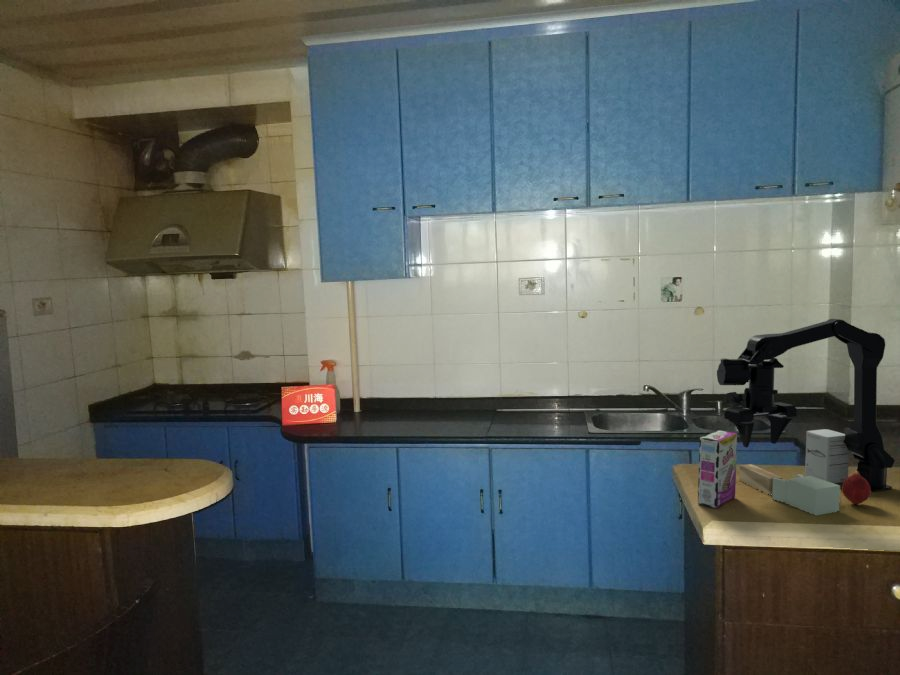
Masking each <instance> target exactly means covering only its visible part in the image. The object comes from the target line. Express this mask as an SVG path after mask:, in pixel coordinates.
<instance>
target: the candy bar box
mask: <svg viewBox="0 0 900 675" xmlns="http://www.w3.org/2000/svg"><path fill="white" fill-rule="evenodd" d="M698 451H699V452H698V484H697V486H698V487H697V504H698V505H701V506H704V507H709V508H710V509H711V508H712V509H718V508H720V507H721V506H723V505H724V504H726V503H727V502H729V501H731V500H733V499H735V498H736V485H737V484H736V483H737V477H736V476H737V475H736V474H737V458H738V457H737V454H738V452H737V451H738V433H737V432H732V431H727V430H726V431H725V430H719V429H718V430H715V431H713V432H711V433H709V434H707V435H703V436H701V437H699V450H698Z"/></svg>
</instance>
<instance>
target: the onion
mask: <svg viewBox="0 0 900 675" xmlns="http://www.w3.org/2000/svg"><path fill="white" fill-rule="evenodd" d="M841 492H842V494H843V496H844V497H845V498H846V499H847V501H848V502H850V503H851V504H853V505H855V504H856V505H859V504H861V503H864V502H866V501H867V500H868V499H869V498H870V497H871V494H872V491H871V488H870V485H869V483H868V482H867V480H866V479H865V478H863V477H862V476H860V474H859V472H858V471H857V470H855V471H854V473H853V474H852V475H850V476H848V478H846V479H845V481H844V482H842V486H841Z"/></svg>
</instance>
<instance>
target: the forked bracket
mask: <svg viewBox="0 0 900 675" xmlns="http://www.w3.org/2000/svg"><path fill="white" fill-rule="evenodd" d="M840 493H841V485H839V484H838V483H831V482H828V481H825V480H822V479H819V478H816V477H813V476H805V475H803V474H799V473H798V474H796V477H793V478H788V479H783V478H782V479H779V478H773V491H772V495H771V496H772V497H771V500H772V499H774V500H773V501H775V500H777V501H776V502H779V501H781V502H780V503H783V502H785V503H784V504H787V505H788V504H789V506H791V507H793V506H794V507H793V508H796V507H797V508H796V509H798V508H799V509H798V510H801V511H803V510H804V512H806V513H808V512H809V513H808V514H811V515H813V514H814V515H813V516H821V515H826V514H832V512H833V513H837V511H839V512H840V498H841V496H840V495H841V494H840Z"/></svg>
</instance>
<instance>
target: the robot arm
mask: <svg viewBox="0 0 900 675" xmlns="http://www.w3.org/2000/svg"><path fill="white" fill-rule="evenodd" d="M833 337H834V338H835V339H837V340H838V341H839V342H841V343H843V344H845V345H846V346H847V353H848V357H849V358H850V361H851V363H852V364H853V369H854V370H853V371H854V374H853V375H854V378H853V379H854V380H853V383H854V384H853V385H854V387H853V423H852V425H851V426H850V427H844V430H843V432H844V434H845V440H844V443H846V446H847V449H848V450H849V453H851V454H852V457H853V459H855V460H857V461H858V462H857V469H856V471H858V472H859V474H860V476H862V477H863V478H865V479H866V480H867V482H868V483H869V485H870V488H871V492H879V491H886V490H892V489H893V486H892V485H888V484H887V480H888V479H887V477H888V469H889V468H890V469H891V468H893V466H894V464H895V462H896V460H895V458H894V457H893V456H891V455H890V454H889V453H888V451H886V450H885V445H884V440H883V436H882V433H881V431H880V429H879V427H878V425H877V400H878V398H877V391H878V390H877V388H878V387H877V386H878V385H877V384H878V382H877V381H878V379H877V378H878V376H877V375H878V367H879V365H880V364H881V361H882V360H883V358H884V355H885V349H886V339H885V338H884V337H883V336H882V335H881V334H879V333H877V332H870V331H867V330H865V329H862V328H859V327H858V326H857V327H856V326H855V325H853V324H852V325H851V323H849V322H846V321H845V320H844V319H840V318H839V319H838V318H829V319H827V320H826V321H822V322H818V323H814V324H811V325H808V326H804V327H799V328H796V329H791V330H790V331H785V332H781V333H767V334H764V333H763V334H756V335H753V336H750V338H749V339H748V341H747V345H746V347H745V349H744V350H743V351H742V352H741V353H740V355H739V356H738V357H737V359H735V358H731V359H729V358H720V363H719V364H718V367H717V370H716V377H717V378H716V379H717V382H718V385H720V386H745V385H746V383H748V387H744V388H745V389H744V393H742V394H738V393H737V392H736V391H732V392H731V391H730V392H727V393H726V398H725V399H726V400H725V401H726V404H727V405H728V406H731V407H727V408H725V410H724V414H723V415H724V416H723V418H724V420H725V419H726V420H727V421H728V422H729V423H732V424H733V425H734V426H735V427H736V430H737V431H738V434H739V437H740V439H741V443H742V445H743V447H744V448H749V445H750V442H751V439H752V434H753V430H754V426H755V422H752V421H753V420H754V418H755V417H762V416H766V417H767V419H768V421H769V424H770V426H769V428H770V430H769V431H770V435H769V436H770V443H771V444H774V445H775V444H776V443H777V442H778V440H779V439H780V437H781V435H782V433H783V432H784V430H785V429H786V427H787V426H788V424H789V423H790V421H793V420H794V419H793V418H794V417H797V415H798V414H797V412H798V411H797V407H796V406H795V405H794V404H791V403H785V402H780V401H779V402H774V401H775V400H774V397H775V396H774V395H778V389H775V369H783V368H784V365H783V364H782V363H781V362H780V361H779V360H778V358H777V357H779V356H780V355H783V354H785V353H786V352H787V351H788V350H791V349H793V348H797V347H800V346H804V345H808V344H812V343H815V342H818V341H822V340H825V339H829V338H833Z"/></svg>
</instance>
